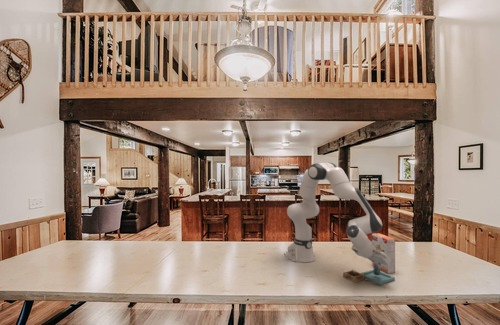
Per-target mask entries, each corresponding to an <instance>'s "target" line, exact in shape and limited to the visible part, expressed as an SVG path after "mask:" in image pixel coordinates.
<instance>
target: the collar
mask: <svg viewBox="0 0 500 325" xmlns="http://www.w3.org/2000/svg"><path fill="white" fill-rule="evenodd" d="M361 273H362V272H358V271H356V270H353V269H352V270H348V271H345V272H343V276H342V277H343V278H345V279H347V280H349V281H351V282H353V283H357V282H360V281H363V280H365V279H364V275H363V274H361Z"/></svg>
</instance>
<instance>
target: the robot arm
mask: <svg viewBox="0 0 500 325" xmlns="http://www.w3.org/2000/svg"><path fill="white" fill-rule="evenodd" d="M345 172H346V171H344V169H343V168H342V167H339V166H337V165H336V164H335V163H333V162H319V163H313V164H311V165H309V167H308V168H307V169H306V170H305V171H304V174H303V175H302V177H301V178H302V179H301V182H300V183H301V184H300V185H299V186H300V187H299V192H298V193H299V194H298V195H299V196H300V197H301V198H302V202H298V203H297V202H296V203H292V204H289V205H288V207H287V209H286V213H287V214H286V215H287V216H288V218H289V219H290V220H291V221H292V222H293V224H294V231H295V237H294V238H292V240H294V241H293V242H292V243H291V244H289V245H288V247H287V251H286V252H284V253H283V255H284V256H286V257H287V258H288V259H289V260H290V261H292V262H298V263H312V262H313V261H314V260H315V255H314V249H313V248H314V246H313V238H312V237H313V235H312V233H313V232H312V230H313V229H312V226H311V225H310V224H308V223H307V219H311V218H314V217H317V216H318V215H319V213H320V206H319V205H318V203H317V202H316V201H317V200H316V195H317V190H318V186H319V182H320V181H325V180H326V181H328V183H329V184H330V186H331V189H332V192H333V194H334V196H335V197H337V198H339V199H342V200H352V201H353V200H354V201H357V203H359V205H360V207H361V208H362V210H363V211H364V212H365V214H366V215H364V216H360V217H356V218H353V219H350V220H348V222H347V224H346V235H347V238H348V240H349V241H350V243H351V244H352V246H351V250H352V251H353V252H354V253H355V254H356V255H357V256H360V257H362V258H364V259H368V260H369V261H370V262H371V263H372V262H373V261H376V262H379V265H381V266H382V265H383V264H384V265H387V266H388V265H389V264H390V262H391V259H390V258H389V257H388V256H387V255H386V254H385V253H383V252H381V251H377V250H376V249H375V246H374V245H373V243H372V240H370V239H369V237H368V234H374V233H380V231H381V230H382V228H383V226H384V225H383V222H382V219H381V218H380V217H379V216H378V214H377V212H376V211H375V210H374V208H373V207H372V206H371V204H370V202H369V201H368V200H367V198H366V196H365V195H364V193H363V192H362V191H361V190H360V189H359V188H356V187H354V186H353V185H352V184H351V182H350V180H349V177H348V176H347V173H345Z"/></svg>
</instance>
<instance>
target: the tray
mask: <svg viewBox="0 0 500 325" xmlns="http://www.w3.org/2000/svg"><path fill="white" fill-rule="evenodd" d="M360 273H361V274H363V275H364V280H365V281H369V282H370V283H371V284H375V285H377V286H380V287H381V286H384V285H387V284H390V283H393V282H395V281H396V277H395V276H392V275H390V274H387V273H385V272H383V271H380V274H381V275H379V276H378V275H374V270H373V269H370V270H367V271H363V272H360Z"/></svg>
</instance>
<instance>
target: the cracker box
mask: <svg viewBox="0 0 500 325" xmlns="http://www.w3.org/2000/svg"><path fill="white" fill-rule="evenodd" d="M371 242H372V243H373V245H374V246H375V249H376V250H377V251H381V252H383V253H385V254H386V255H387V256H388V257H389V258H390V259H391V262H390V264H389V265H388V266H387V265H384V264H383V265H382V266H381V265H380V271H381V272H382V273H385V274H388V275H390V274H396V239H395V238H393V237H390V236H387V235H385V234H382V233H380V232H374V233H371ZM371 263H372V264H371V265H372V266H373V262H371Z"/></svg>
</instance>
